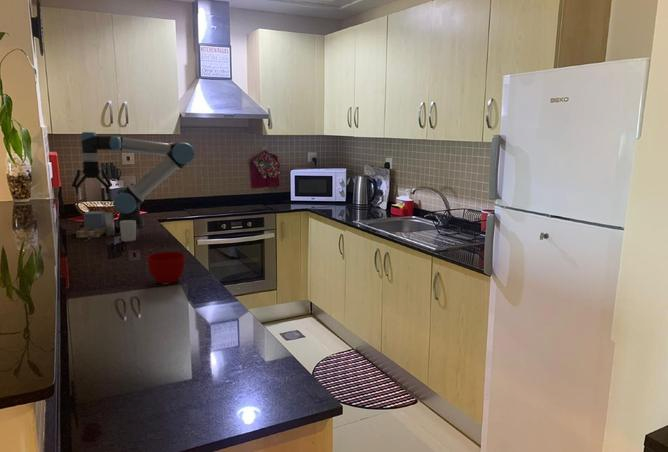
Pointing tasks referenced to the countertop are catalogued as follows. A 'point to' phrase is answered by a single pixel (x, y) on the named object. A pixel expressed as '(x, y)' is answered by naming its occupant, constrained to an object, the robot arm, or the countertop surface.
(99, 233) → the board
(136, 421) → the countertop surface
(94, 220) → the slate blue cube
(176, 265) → the ceramic cup
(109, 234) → the peg
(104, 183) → the robot arm
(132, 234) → the white cup
